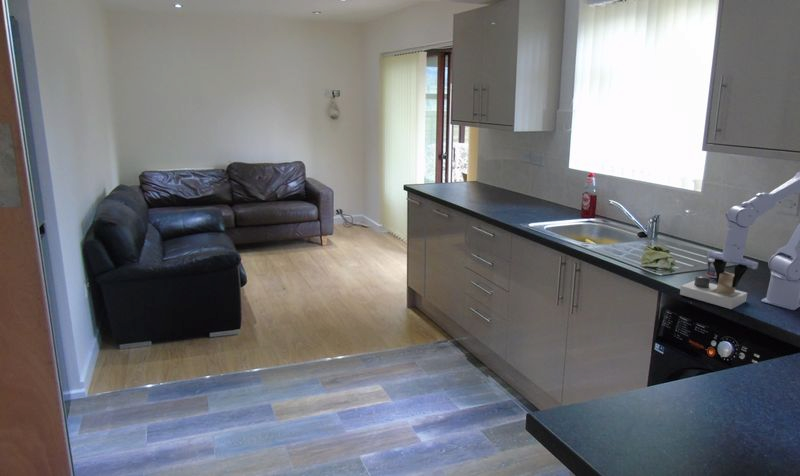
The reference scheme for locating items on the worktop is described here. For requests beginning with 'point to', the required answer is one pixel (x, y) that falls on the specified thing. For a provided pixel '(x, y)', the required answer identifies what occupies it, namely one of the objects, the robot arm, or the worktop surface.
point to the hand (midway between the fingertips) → (726, 284)
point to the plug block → (725, 283)
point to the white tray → (712, 293)
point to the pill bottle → (711, 268)
